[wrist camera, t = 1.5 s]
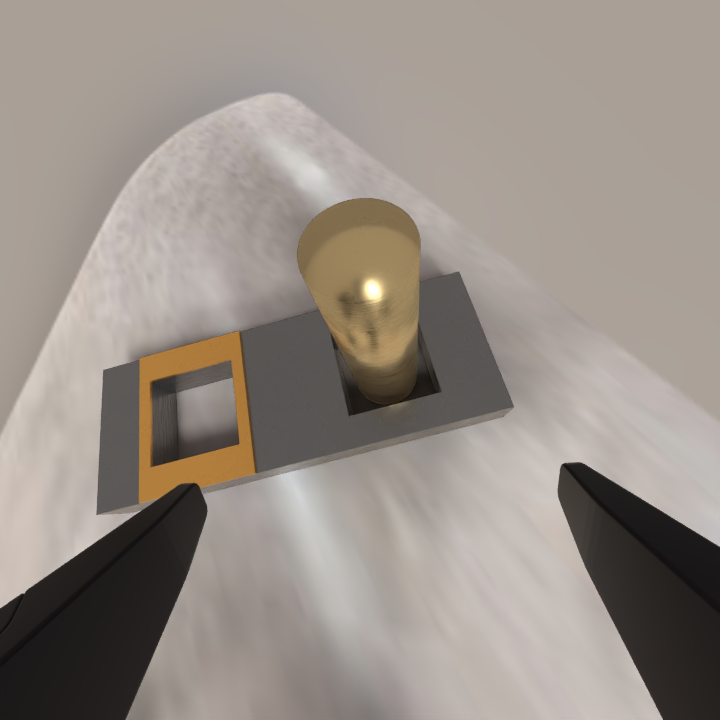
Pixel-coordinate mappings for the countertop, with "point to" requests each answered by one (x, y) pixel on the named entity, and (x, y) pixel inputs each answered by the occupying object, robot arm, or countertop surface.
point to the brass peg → (367, 291)
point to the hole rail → (287, 401)
